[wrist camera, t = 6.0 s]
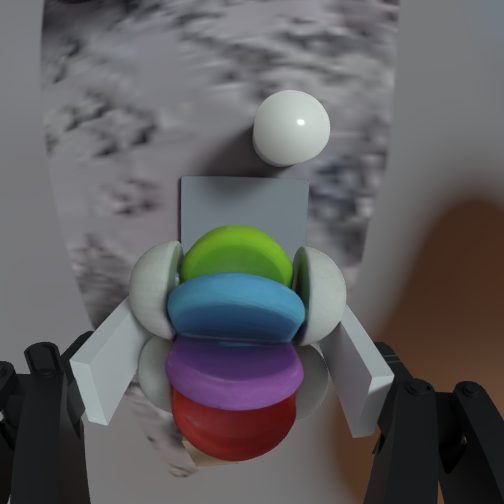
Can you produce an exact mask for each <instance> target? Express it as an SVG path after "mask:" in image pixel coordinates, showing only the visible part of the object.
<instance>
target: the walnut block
mask: <svg viewBox="0 0 504 504" xmlns="http://www.w3.org/2000/svg"><path fill="white" fill-rule="evenodd" d="M182 443H183V445H184V446H185V448H186V450H187V451H188V453H189V455H190V456H191V458H192V460H193V461H194V463H195V465H196V466H214V465H227V464H237V463H238V461H236V462H230V461H224V460H220V459H216V458H214V457H211V456H209V455H207V454H205V453H203V452H201V451H199V450H198V449H196V448H195V447H194V446H193V445H191V444H190V443H189V442H188V441H187V439H186V438H185V437H184V436H183V437H182Z"/></svg>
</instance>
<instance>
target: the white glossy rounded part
mask: <svg viewBox="0 0 504 504" xmlns="http://www.w3.org/2000/svg"><path fill="white" fill-rule="evenodd" d="M329 134H330V122H329V118H328V115H327V113H326V111H325V109H324V108H323V106H322V105H321V104H320V103H319V102H318V101H317V100H316V99H315V98H313V97H312V96H310V95H308V94H306V93H304V92H300V91H295V90H286V91H281V92H277V93H275V94H273V95H271V96H269V97H268V98H267V99H266V100H265V101H264V102H263V103H262V104H261V105H260V107H259V109H258V111H257V113H256V116H255V122H254V129H253V137H252V140H253V146H254V149H255V151H256V153H257V154H258V156H259V157H260V158H261V159H262V160H263V161H264V162H266V163H268V164H270V165H272V166H276V167H288V166H291V165H294V164H297V163H300V162H304V161H307V160H309V159H311V158H313V157H315V156H316V155H318V154H319V153H320V152H321V151H322V150H323V148H324V147H325V145H326V143H327V141H328V138H329Z"/></svg>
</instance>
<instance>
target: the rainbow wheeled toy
mask: <svg viewBox="0 0 504 504" xmlns="http://www.w3.org/2000/svg"><path fill="white" fill-rule="evenodd" d="M129 298H130V304H131V307H132V310H133V312H134V314H135V316H136V317H137V319H138V320H139V322H140V323H141V324H142V325H143V326H144V327H145V328H146V329H147V330H148V331H150V332H151V333H153V334H154V335H155V336H154V337H152V338H151V339H150V340H149V341H148V342H147V343H146V344H145V346H144V347H143V349H142V351H141V354H140V357H139V363H138V380H139V384H140V387H141V389H142V391H143V392H144V394H145V395H146V397H147V398H148V399H149V400H150V401H151V402H152V403H153V404H154V405H156V406H157V407H159V408H160V409H162V410H164V411H167V412H170V413H172V415H173V418H174V420H175V422H176V424H177V426H178V429H179V430H180V432H181V433H182V435H183V436H184V437H185V438H186V439H187V441H188V442H189V443H190V444H191V445H193V446H194V447H195V448H196V449H198V450H199V451H201V452H203V453H205V454H207V455H209V456H211V457H214V458H216V459H220V460H224V461H230V462H236V461H244V460H249V459H252V458H255V457H258V456H261V455H263V454H265V453H267V452H269V451H270V450H272V449H273V448H275V447H276V446H277V445H278V444H279V443H280V442H281V441H282V440H283V439H284V438H285V437H286V436H287V434H288V432H289V430H290V429H291V427H292V426H293V424H294V422H295V421H296V420H299V419H302V418H304V417H306V416H308V415H309V414H311V413H312V412H313V411H315V410H316V409H317V408H318V406H319V405H320V404H321V403H322V401H323V399H324V397H325V395H326V391H327V387H328V370H327V366H326V363H325V361H324V359H323V357H322V356H321V354H320V353H319V352H318V351H317V350H316V349H315V348H314V347H313V346H311V345H310V344H312V343H315V342H317V341H319V340H321V339H323V338H324V337H326V336H327V335H328V334H329V333H331V332H332V331H333V329H334V328H335V327H336V326H337V324H338V323H339V321H340V319H341V318H342V315H343V313H344V309H345V304H346V286H345V281H344V278H343V276H342V274H341V272H340V270H339V268H338V267H337V265H336V264H335V263H334V262H333V261H332V260H331V259H330V258H329V257H328V256H327V255H325V254H324V253H322V252H320V251H318V250H316V249H313V248H310V247H307V246H301V247H299V249H298V250H297V252H296V254H295V257H294V260H293V264H292V262H291V260H290V259H289V257H288V256H287V254H286V253H285V251H284V250H283V249H282V247H281V246H280V245H279V244H278V243H277V242H276V241H275V240H274V239H273V238H271V237H270V236H269V235H267V234H266V233H264V232H263V231H261V230H259V229H257V228H254V227H251V226H246V225H226V226H221V227H217V228H215V229H213V230H211V231H209V232H207V233H206V234H204V235H203V236H202V237H201V238H199V239H198V240H197V241H196V242H195V243H194V244H193V246H192V247H191V248H190V250H189V251H188V252H186V253H185V256H184V253H183V248H182V245H181V244H180V242H178V241H167V242H164V243H161V244H158V245H156V246H154V247H152V248H151V249H149V250H148V251H147V252H146V253H144V254H143V255H142V256H141V257H140V259H139V260H138V261H137V263H136V264H135V266H134V269H133V271H132V274H131V278H130V285H129Z"/></svg>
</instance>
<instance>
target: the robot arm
mask: <svg viewBox="0 0 504 504" xmlns="http://www.w3.org/2000/svg"><path fill="white" fill-rule="evenodd" d="M58 1H60V2H63V3H79V2H84V1H88V0H58ZM152 337H153V333H151V332H150V331H148V330H147V329H146V328H145V327H144V326H143V325H142V324H141V323H140V322H139V320H138V319H137V317H136V316H135V314H134V312H133V310H132V307H131V304H130V298H129V295H128V296H127V297H126V298H125V299H124V300H123V301H122V303H121V304H120V305H119V306H118V307H117V308H116V309H115V310H114V311H113V312H112V313H111V314H110V315H109V317H108V318H107V319H106V320H105V321H104V322H103V323H102V324H101V325H100V326H99V327H98V329H97V330H96V331H95V332H94V331H88V332H86V333H84V334H82V335H80V336H79V337H78V338H77V339H76V340H75V341H74V343H72V344H71V346H70V347H69V348H68V349H67V350H66V351H65V352H64V353H63V354H62V355H61V356H60V354H59V350H58V347H57V346H56V345H55V344H53V343H50V342H40V343H36V344H33V345H31V346H29V347H28V348H27V349H26V350H25V351H24V355H25V358H26V361H27V364H28V366H29V369H30V372H31V373H30V374H16V372H15V369H14V366H13V365H12V364H11V363H9V362H6V361H0V411H1V413H2V415H3V419H2V421H0V504H7V503H8V500H9V497H10V504H91V503H90V497H89V488H88V479H87V470H86V460H85V445H84V425H83V422H82V420H81V416H82V414H83V413H84V411H86V414H87V416H88V419H89V421H91V422H95V423H99V424H103V425H108V424H109V422H110V420H111V418H112V416H113V414H114V412H115V410H116V408H117V406H118V404H119V402H120V400H121V398H122V396H123V395H124V393H125V391H126V389H127V387H128V385H129V383H130V381H131V379H132V378H133V376H134V374H135V372H136V370H137V368H138V363H139V357H140V354H141V351H142V349H143V347H144V346H145V344H146V343H147V342H148V341H149V340H150V339H151V338H152ZM319 346H320V349H321V351H322V354H323V356H324V359H325V362H326V365H327V367H328V370H329V373H330V375H331V378H332V380H333V383H334V386H335V389H336V392H337V394H338V397H339V400H340V403H341V405H342V408H343V411H344V414H345V417H346V419H347V422H348V425H349V428H350V431H351V433H352V436H353V438H355V437H362V436H370V435H373V433H374V431H375V428H376V426H377V424H378V426H379V428H380V430H381V434H380V436H379V438H378V441H377V443H376V445H375V448H374V450H373V452H372V454H375V457H374V462H373V467H372V471H371V476H370V480H369V484H368V488H367V492H366V495H365V499H364V503H363V504H437V499H438V479H439V483H440V487H441V491H442V495H443V499H444V504H504V420H503V418H502V417H501V415H500V413H499V412H498V410H497V408H496V407H495V405H494V403H493V402H492V400H491V398H490V397H489V395H488V394H487V392H486V390H485V389H484V388H483V387H482V386H481V385H479V384H477V383H475V382H472V381H462V382H459V383H458V384H456V386H455V389H454V391H453V393H447V392H435V390H434V388H433V386H432V385H431V384H429V383H428V382H426V381H424V380H421V379H417V378H413V377H412V376H411V374H410V373H409V371H408V370H407V368H406V367H405V366H404V364H403V363H402V362H400V359H399V357H398V356H396V353H395V352H394V351H393V349H392V348H391V347H390V346H388V345H386V344H385V343H383V342H372V341H371V339H370V338H369V336H368V335H367V333H366V332H365V330H364V329H363V327H362V326H361V324H360V323H359V322H358V320H357V318H356V317H355V316H354V314H353V313H352V312H351V310H350V308H349V307H348V306H347V304H345V309H344V313H343V315H342V318H341V319H340V321H339V323H338V324H337V326H336V327H335V328H334V329H333V331H332V332H331V333H329V334H328V335H327V336H326V337H324V338H323V339H321V340H320V344H319ZM465 437H466V441H467V443H466V441H465V439H464V438H465ZM10 494H11V496H10Z"/></svg>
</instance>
